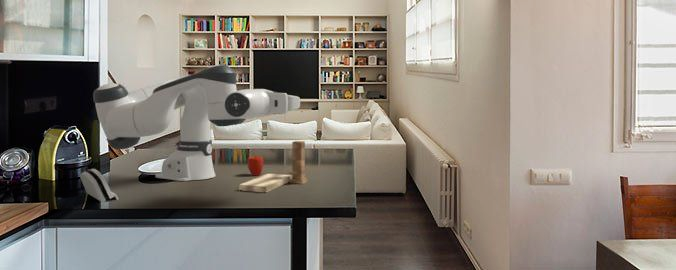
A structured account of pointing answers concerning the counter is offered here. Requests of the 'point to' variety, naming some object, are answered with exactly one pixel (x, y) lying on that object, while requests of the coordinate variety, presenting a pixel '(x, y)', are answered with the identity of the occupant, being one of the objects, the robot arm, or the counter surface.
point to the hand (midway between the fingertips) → (278, 101)
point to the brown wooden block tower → (298, 163)
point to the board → (265, 183)
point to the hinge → (96, 185)
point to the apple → (255, 165)
